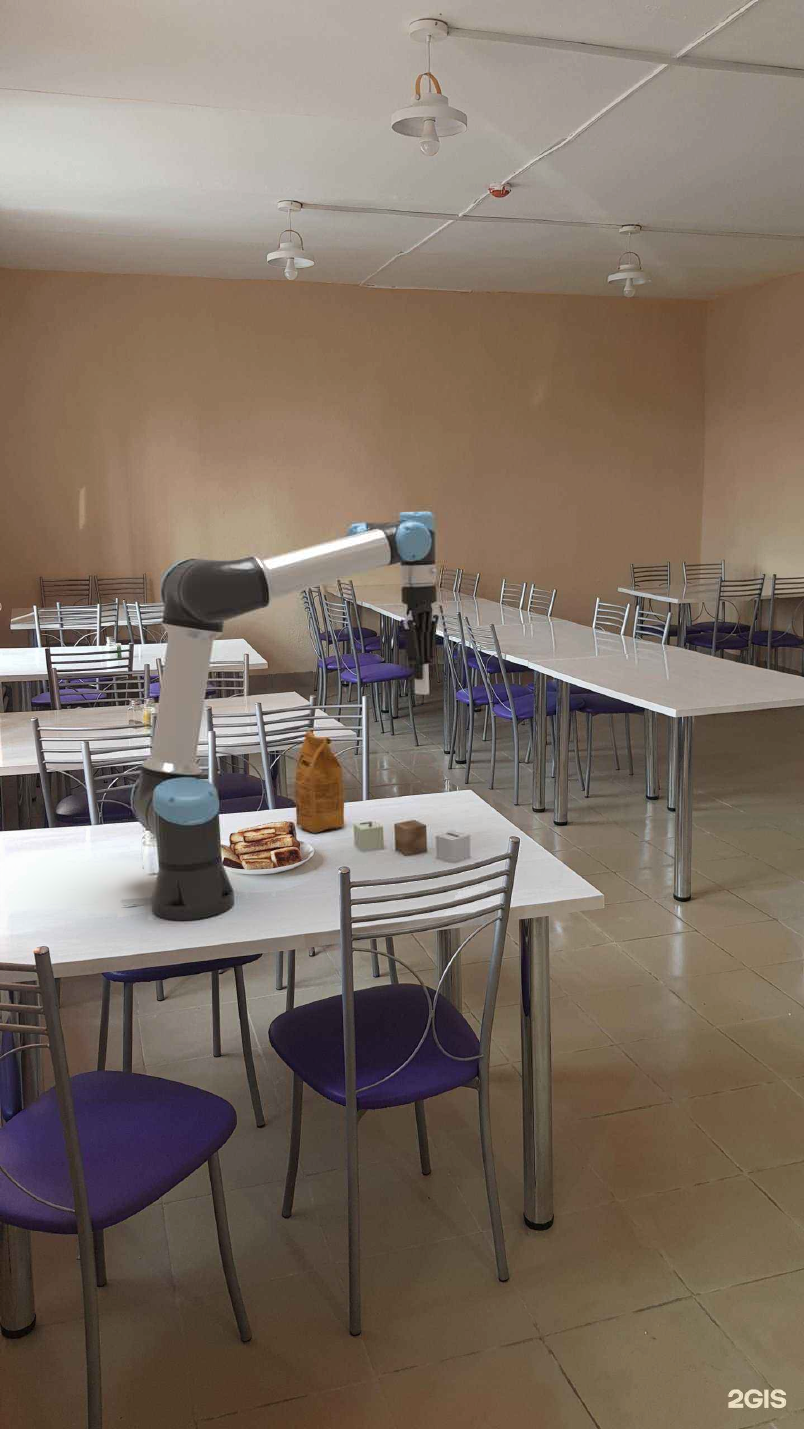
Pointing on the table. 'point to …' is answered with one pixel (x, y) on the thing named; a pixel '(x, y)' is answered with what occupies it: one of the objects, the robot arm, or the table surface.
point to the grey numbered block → (453, 846)
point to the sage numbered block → (368, 836)
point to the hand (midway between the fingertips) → (422, 693)
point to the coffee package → (318, 786)
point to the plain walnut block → (410, 838)
